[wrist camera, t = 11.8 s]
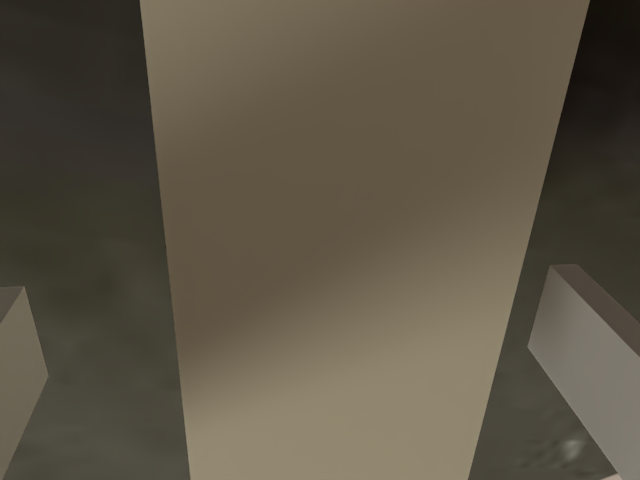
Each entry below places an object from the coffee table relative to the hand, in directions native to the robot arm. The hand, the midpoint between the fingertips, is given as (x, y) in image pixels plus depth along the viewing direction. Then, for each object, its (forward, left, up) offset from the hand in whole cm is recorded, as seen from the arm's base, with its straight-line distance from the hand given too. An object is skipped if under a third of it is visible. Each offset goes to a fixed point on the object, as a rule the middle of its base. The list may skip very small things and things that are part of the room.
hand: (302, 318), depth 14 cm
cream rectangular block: (-4, 0, -5) cm, 6 cm away
